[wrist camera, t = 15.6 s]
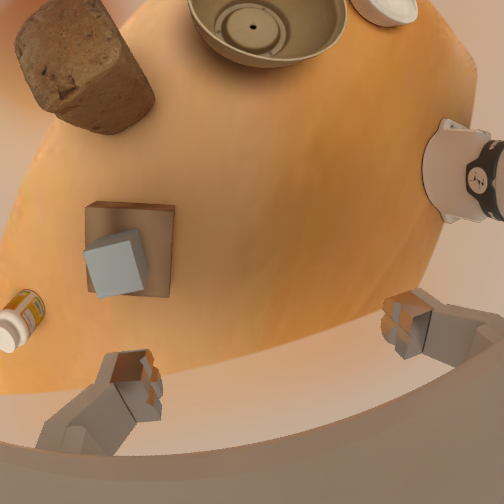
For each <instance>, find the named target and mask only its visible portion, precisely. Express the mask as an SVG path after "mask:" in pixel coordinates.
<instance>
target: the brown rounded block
mask: <svg viewBox="0 0 504 504" xmlns="http://www.w3.org/2000/svg"><path fill="white" fill-rule="evenodd" d="M14 44H15V52H16V55H17V58H18V61H19V63H20V67H21V69H22V71H23V74H24V77H25V80H26V82H27V84H28V85H29V87H30V89H31V91H32V93H33V95H34V98H35V99H36V101H37V103H38V104H39V106H40V107H41V108H42V109H43V110H45V111H47V112H51V113H55V115H56V116H57V117H58V118H59V119H61V120H64V121H65V122H67V123H70V124H72V125H74V126H76V127H80V128H83V129H88V130H89V131H92V132H95V133H99V134H104V135H113V134H115V133H118V132H120V131H122V130H124V129H125V128H127V127H128V126H130V125H132V124H133V123H135V122H136V121H138V120H139V119H141V118H142V117H143V116H144V115H145V114H146V113H147V111H148V110H149V108H150V107H151V106H152V105H153V104H154V102H155V96H154V93H153V91H152V89H151V87H150V84H149V82H148V80H147V78H146V76H145V75H144V73H143V72H142V70H141V68H140V67H139V65H138V63H137V61H136V60H135V58H134V56H133V54H132V53H131V51H130V49H129V48H128V46H127V44H126V42H125V41H124V39H123V37H122V36H121V34H120V32H119V30H118V28H117V27H116V25H115V23H114V22H113V20H112V18H111V16H110V15H109V13H108V12H107V10H106V9H105V7H104V5H103V4H102V2H101V0H50V1H48V2H47V3H45V4H43V5H42V6H41V7H40V8H39V9H38V10H37V11H36V12H35V13H34V14H32V15H30V16H29V17H28V18H27V19H26V21H25V22H24V24H23V26H22V27H21V30H20V31H19V33H18V35H17V37H16V40H15V43H14Z"/></svg>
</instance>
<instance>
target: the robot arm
mask: <svg viewBox="0 0 504 504" xmlns="http://www.w3.org/2000/svg"><path fill="white" fill-rule="evenodd" d="M490 135H491V134H490V133H489V132H486V131H482V130H470V129H468V128H466V127H464V126H462V125H460V124H458V123H456V122H454V121H452V120H450V119H446V118H443V119H442V120H441V123H440V126H439V129H438V131H437V132H436V134H435V135H434V136H433V137H432V138H431V139H430V141H429V143H428V145H427V147H426V150H425V153H424V158H423V181H424V186H425V190H426V193H427V195H428V197H429V199H430V201H431V203H432V204H433V205H434V206H435V207H436V208H437V209H438V210H439V211H440V212H441V215H442V218H443V220H444V222H445V223H449V224H451V223H453V222H455V221H457V220H459V219H460V218H461V219H465V220H469V221H473V222H477V223H479V222H481V221H482V220H484V219H485V218H486V217H490V218H493V219H495V220H497V221H504V141H501V140H497V141H495V140H491V139H490V138H491V136H490ZM383 311H384V312H385V315H384V316H383V318H382V319H381V330H382V335H383V337H384V338H385V340H386V341H387V342H388V343H390V344H393V345H395V351H396V352H397V353H398V354H399V355H400V356H401V357H402V358H403V359H404V360H406V359H408V358H411V357H413V356H416V355H418V354H421V353H423V354H424V355H427V356H429V357H431V358H434V359H436V360H438V361H441V362H443V363H445V364H448V365H450V366H453V367H455V369H453V370H451V371H449V372H448V373H446V374H444V375H442V376H440V377H439V378H437V379H435V380H433V381H431V382H429V383H427V384H425V385H423V386H421V387H419V388H417V389H415V390H413V391H411V392H409V393H406V394H404V395H402V396H400V397H398V398H396V399H393V400H391V401H389V402H386V403H384V404H382V405H379V406H377V407H374V408H372V409H369V410H367V411H364V412H362V413H359V414H356V415H354V416H350V417H348V418H345V419H342V420H339V421H336V422H333V423H330V424H327V425H324V426H320V427H317V428H314V429H310V430H307V431H304V432H300V433H297V434H292V435H288V436H284V437H280V438H276V439H272V440H268V441H263V442H258V443H253V444H248V445H243V446H238V447H232V448H226V449H218V450H211V451H203V452H194V453H184V454H172V455H155V456H113V455H114V454H115V453H116V451H117V450H118V449H119V447H120V446H121V445H122V443H123V442H124V440H125V439H126V438H127V436H128V435H129V434H130V432H131V431H132V430H133V428H134V427H135V425H136V423H137V422H148V421H159V420H161V410H162V405H161V402H160V400H159V399H160V398H161V397H162V395H163V386H162V380H161V376H160V373H159V371H158V369H157V368H156V367H154V366H153V361H154V358H153V356H152V353H151V351H150V350H149V349H143V350H132V351H122V352H112V353H107V354H105V356H104V359H103V361H102V364H101V367H100V370H99V373H98V375H97V378H96V381H95V384H91V385H89V386H88V387H87V388H86V389H85V390H83V391H82V392H81V393H80V394H79V395H77V396H76V397H75V398H74V399H73V400H71V401H70V402H69V403H68V404H66V405H65V406H64V407H63V408H62V409H60V410H59V411H58V412H57V413H56V414H54V415H53V416H52V417H51V418H50V419H48V420H47V421H46V422H45V423H44V425H43V428H42V431H41V433H40V436H39V439H38V442H37V444H36V447H35V448H29V447H24V446H19V445H14V444H10V443H5V442H1V441H0V504H504V318H503V317H501V316H500V315H498V314H494V313H489V312H484V311H479V310H474V309H469V308H464V307H459V306H455V305H450V304H447V305H444V304H443V303H441V302H440V301H438V300H437V299H435V298H434V297H433V296H431V295H430V294H428V293H427V292H425V291H424V290H422V289H421V288H415V289H412V290H409V291H407V292H404V293H401V294H398V295H395V296H392V297H389V298H386V299H385V300H384V302H383Z"/></svg>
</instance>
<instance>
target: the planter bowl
mask: <svg viewBox="0 0 504 504" xmlns="http://www.w3.org/2000/svg"><path fill="white" fill-rule="evenodd" d="M188 5H189V9H190V12H191V16H192V19H193V22H194V24H195V27H196V29H197V31H198V32H199V34H200V36H201V37H202V38H203V40H204V41H205V42H206V43H207V44H208V45H209V46H210V47H211V48H212V49H213V50H215V51H216V52H217V53H219V54H220V55H222V56H224V57H225V58H227V59H229V60H232V61H234V62H236V63H239V64H243V65H247V66H251V67H259V68H274V67H283V66H288V65H292V64H295V63H298V62H301V61H304V60H306V59H309V58H312V57H315V56H317V55H319V54H321V53H323V52H325V51H326V50H328V49H329V48H330V47H332V46H333V45H334V44H335V43H336V42H337V41H338V40H339V38H340V37H341V35H342V34H343V32H344V29H345V27H346V22H347V5H346V1H345V0H188ZM252 25H255V26H256V29H254V30H253V29H251V28H250V26H252Z"/></svg>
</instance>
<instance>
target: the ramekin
mask: <svg viewBox="0 0 504 504" xmlns="http://www.w3.org/2000/svg"><path fill="white" fill-rule="evenodd" d="M351 2H352V4H353V6H354V7H355V9H356V10H357V11H358V12H359V13H360V14H361V15H362V16H363V17H364V18H365V19H367V20H368V21H370V22H372V23H374V24H376V25H379V26H383V27H391V26H396V25H407V24H410V23H412V22H414V21H415V20H416V18H417V15H418V8H417V3H416V1H415V0H351Z"/></svg>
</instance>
